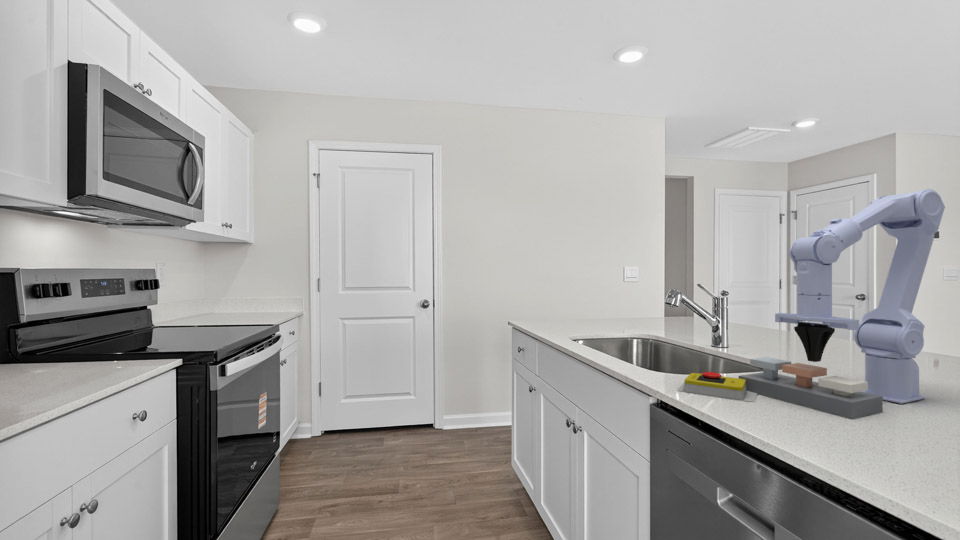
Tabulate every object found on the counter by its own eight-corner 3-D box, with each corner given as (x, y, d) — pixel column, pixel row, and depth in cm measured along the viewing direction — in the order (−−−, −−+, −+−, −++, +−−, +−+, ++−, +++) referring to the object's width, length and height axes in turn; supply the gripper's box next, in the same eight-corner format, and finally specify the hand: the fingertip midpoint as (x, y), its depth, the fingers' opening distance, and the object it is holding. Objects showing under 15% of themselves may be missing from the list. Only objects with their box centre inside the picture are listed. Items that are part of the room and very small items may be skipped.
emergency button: (684, 366, 105) (757, 375, 97) (684, 384, 105) (757, 394, 97) (676, 373, 98) (754, 383, 89) (676, 393, 98) (754, 405, 89)
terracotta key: (798, 383, 95) (798, 362, 95) (826, 389, 90) (826, 368, 90) (782, 385, 93) (782, 365, 93) (810, 392, 88) (810, 370, 88)
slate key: (766, 375, 101) (766, 357, 101) (791, 381, 96) (791, 361, 96) (750, 378, 99) (750, 358, 99) (775, 384, 94) (774, 363, 94)
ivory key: (835, 397, 88) (835, 375, 88) (868, 405, 83) (867, 382, 83) (818, 400, 86) (818, 378, 86) (851, 408, 81) (851, 385, 81)
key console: (767, 384, 103) (767, 371, 103) (882, 412, 83) (882, 396, 83) (738, 388, 99) (738, 375, 99) (851, 419, 79) (851, 402, 79)
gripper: (766, 293, 94) (766, 356, 94) (844, 297, 81) (844, 370, 81) (786, 292, 97) (786, 353, 97) (865, 296, 84) (865, 366, 84)
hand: (814, 361), depth 89 cm, fingers closed
